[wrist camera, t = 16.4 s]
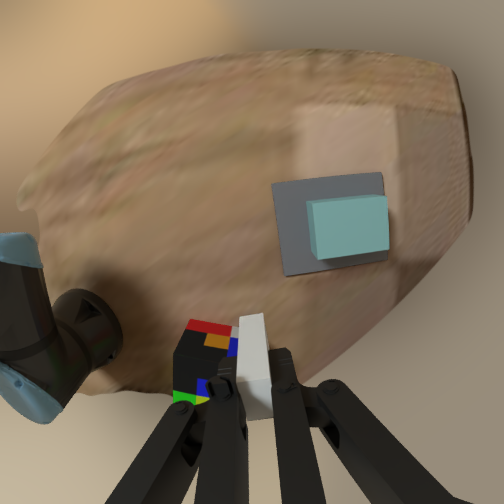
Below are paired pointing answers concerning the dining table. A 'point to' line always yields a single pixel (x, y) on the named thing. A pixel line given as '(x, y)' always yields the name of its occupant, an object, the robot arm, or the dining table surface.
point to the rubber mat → (297, 227)
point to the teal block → (348, 225)
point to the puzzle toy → (201, 358)
